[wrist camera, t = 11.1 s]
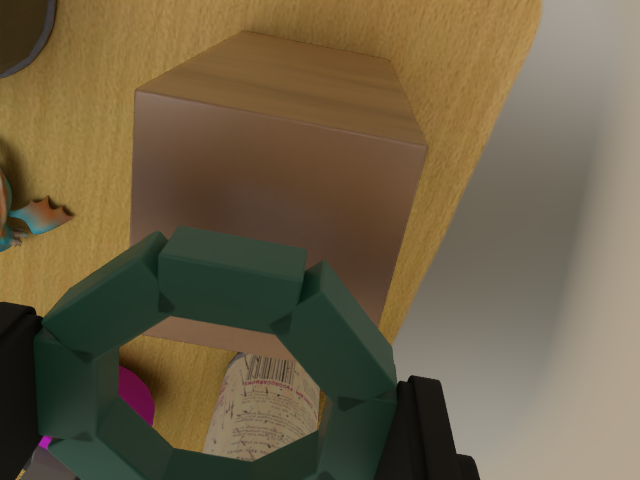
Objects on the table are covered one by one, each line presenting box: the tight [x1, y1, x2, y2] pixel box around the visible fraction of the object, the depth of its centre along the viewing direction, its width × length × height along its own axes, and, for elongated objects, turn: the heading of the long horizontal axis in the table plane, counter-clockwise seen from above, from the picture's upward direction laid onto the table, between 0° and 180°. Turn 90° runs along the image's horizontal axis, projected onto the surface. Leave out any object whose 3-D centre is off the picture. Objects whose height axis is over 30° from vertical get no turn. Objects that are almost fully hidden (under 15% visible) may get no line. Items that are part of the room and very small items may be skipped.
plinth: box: [130, 31, 428, 363], centre depth 24 cm, size 8×8×16 cm
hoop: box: [33, 225, 398, 480], centre depth 11 cm, size 7×7×1 cm
